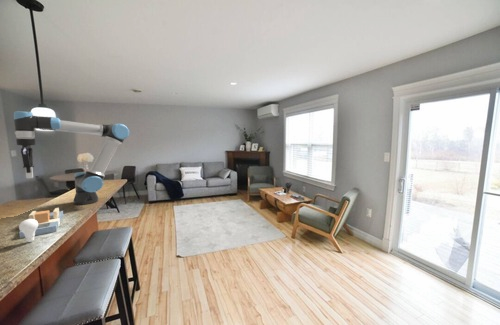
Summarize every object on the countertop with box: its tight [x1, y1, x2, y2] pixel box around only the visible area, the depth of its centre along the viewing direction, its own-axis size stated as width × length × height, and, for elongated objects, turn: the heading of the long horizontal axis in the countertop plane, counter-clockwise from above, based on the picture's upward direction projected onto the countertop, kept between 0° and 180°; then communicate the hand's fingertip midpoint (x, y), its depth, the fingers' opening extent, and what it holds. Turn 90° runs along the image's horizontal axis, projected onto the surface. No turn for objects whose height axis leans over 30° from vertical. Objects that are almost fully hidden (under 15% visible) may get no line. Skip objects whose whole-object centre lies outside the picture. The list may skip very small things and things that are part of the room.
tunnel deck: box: [18, 207, 64, 239], centre depth 114 cm, size 28×13×7 cm, turn 37°
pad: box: [37, 218, 61, 228], centre depth 112 cm, size 6×13×3 cm, turn 127°
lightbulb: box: [18, 218, 38, 243], centre depth 95 cm, size 6×6×11 cm
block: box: [35, 209, 51, 223], centre depth 112 cm, size 5×5×5 cm
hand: (29, 177), depth 123 cm, fingers closed
